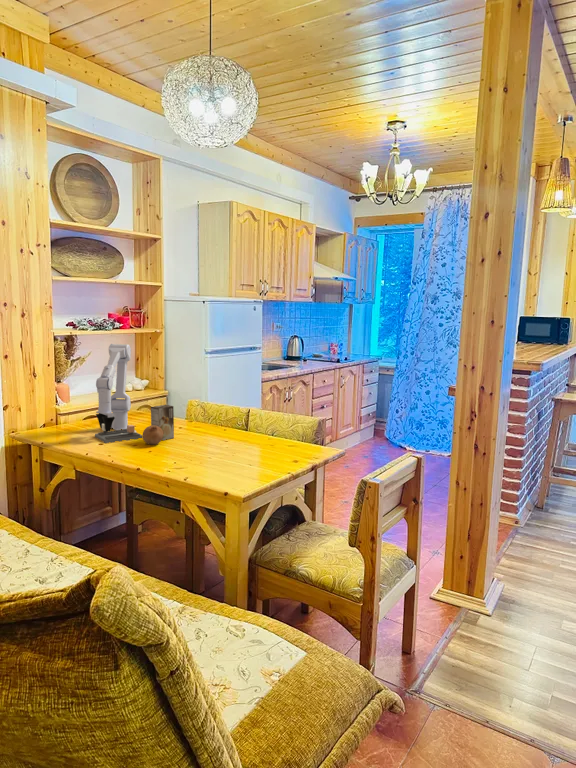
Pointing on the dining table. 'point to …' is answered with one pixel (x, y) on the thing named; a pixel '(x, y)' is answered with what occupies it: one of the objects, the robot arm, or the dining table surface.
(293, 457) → the dining table surface
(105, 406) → the robot arm
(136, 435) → the console
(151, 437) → the onion
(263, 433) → the dining table surface
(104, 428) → the block
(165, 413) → the coffee box
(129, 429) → the fader
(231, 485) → the dining table surface
